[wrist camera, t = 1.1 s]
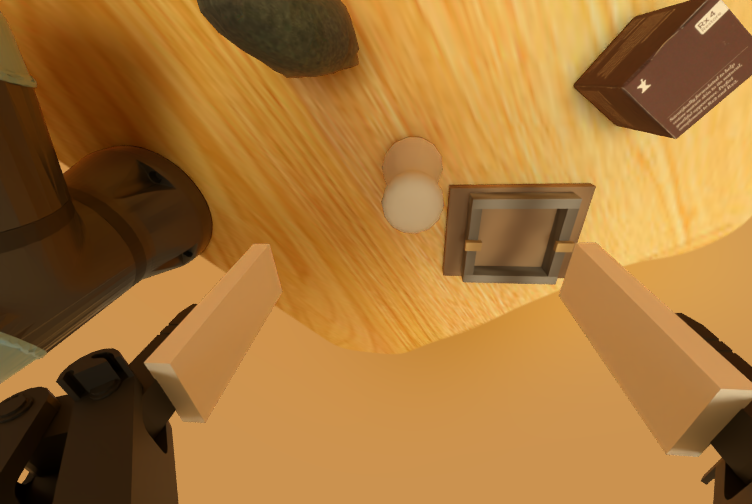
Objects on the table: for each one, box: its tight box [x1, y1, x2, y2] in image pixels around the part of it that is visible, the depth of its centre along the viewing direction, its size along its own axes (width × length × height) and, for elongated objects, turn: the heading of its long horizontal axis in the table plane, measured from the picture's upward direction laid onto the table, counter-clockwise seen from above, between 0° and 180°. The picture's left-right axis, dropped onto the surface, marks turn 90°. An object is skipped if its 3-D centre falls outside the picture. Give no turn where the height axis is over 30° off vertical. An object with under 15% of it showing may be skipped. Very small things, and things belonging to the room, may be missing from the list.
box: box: [574, 0, 752, 139], centre depth 22 cm, size 6×6×7 cm
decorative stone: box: [197, 0, 359, 78], centre depth 20 cm, size 10×6×15 cm, turn 63°
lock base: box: [443, 183, 596, 284], centre depth 32 cm, size 14×11×4 cm
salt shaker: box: [381, 137, 444, 233], centre depth 25 cm, size 6×6×13 cm
